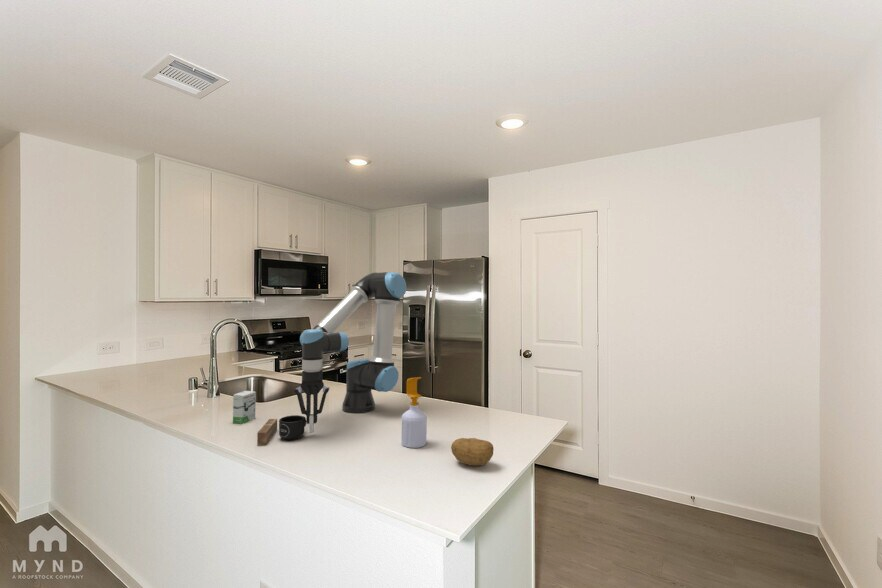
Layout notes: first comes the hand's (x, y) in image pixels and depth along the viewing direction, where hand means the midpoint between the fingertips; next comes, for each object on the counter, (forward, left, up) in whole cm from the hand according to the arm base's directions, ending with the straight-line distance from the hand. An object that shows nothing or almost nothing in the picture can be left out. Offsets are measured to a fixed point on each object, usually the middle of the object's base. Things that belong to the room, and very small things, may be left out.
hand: (311, 431), depth 156 cm
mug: (+6, 0, -2) cm, 7 cm away
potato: (-55, +33, -2) cm, 64 cm away
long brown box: (+16, 0, -2) cm, 16 cm away
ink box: (+31, -22, -2) cm, 38 cm away
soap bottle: (-38, +13, -2) cm, 40 cm away
